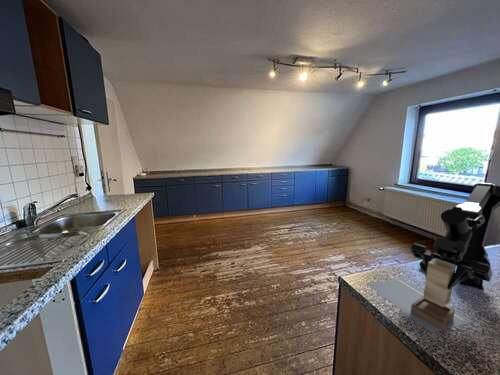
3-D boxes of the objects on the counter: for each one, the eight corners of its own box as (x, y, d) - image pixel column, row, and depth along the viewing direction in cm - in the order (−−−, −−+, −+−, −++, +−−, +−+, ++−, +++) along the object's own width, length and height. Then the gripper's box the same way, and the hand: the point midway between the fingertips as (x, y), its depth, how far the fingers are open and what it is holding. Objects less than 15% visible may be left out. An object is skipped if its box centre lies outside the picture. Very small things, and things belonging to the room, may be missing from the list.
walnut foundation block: (422, 303, 74) (423, 295, 73) (453, 318, 67) (454, 310, 67) (410, 312, 70) (411, 304, 69) (442, 329, 63) (444, 321, 62)
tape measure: (443, 273, 93) (444, 265, 93) (432, 276, 91) (433, 268, 91) (426, 266, 100) (427, 258, 99) (415, 268, 98) (416, 260, 97)
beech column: (430, 292, 72) (435, 258, 70) (450, 301, 68) (455, 265, 66) (423, 297, 70) (428, 262, 68) (443, 307, 66) (449, 269, 64)
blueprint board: (401, 280, 89) (401, 277, 89) (473, 324, 66) (474, 321, 66) (367, 286, 85) (367, 283, 85) (431, 335, 62) (431, 332, 62)
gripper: (415, 220, 75) (395, 259, 71) (495, 237, 60) (476, 288, 56) (423, 237, 81) (405, 274, 77) (498, 257, 65) (481, 305, 61)
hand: (437, 284), depth 67 cm, fingers closed on beech column, 5 cm apart
